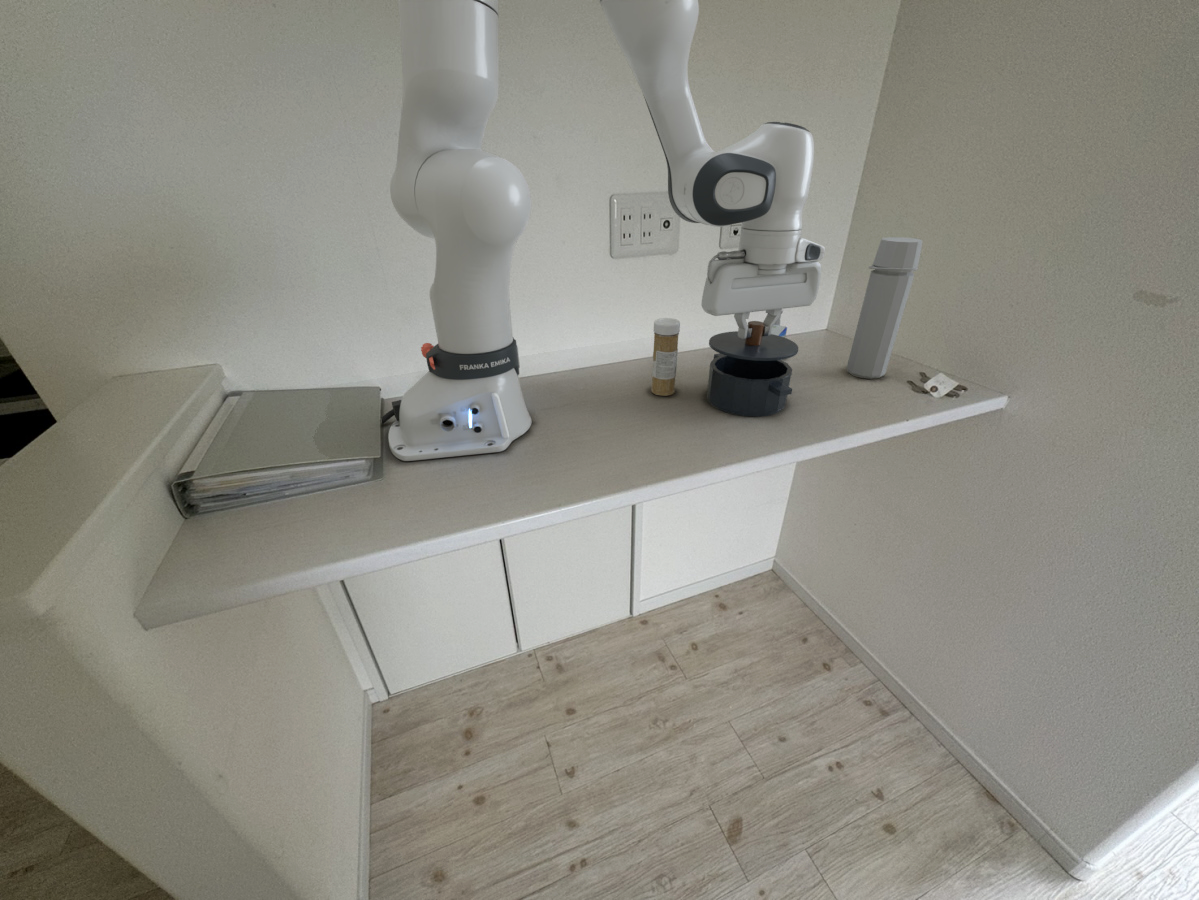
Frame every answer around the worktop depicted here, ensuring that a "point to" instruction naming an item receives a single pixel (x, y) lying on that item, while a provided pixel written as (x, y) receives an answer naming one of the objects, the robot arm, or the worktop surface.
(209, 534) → the worktop surface
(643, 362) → the worktop surface
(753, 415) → the pan
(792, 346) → the pan lid
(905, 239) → the water bottle
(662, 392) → the sprinkles bottle
